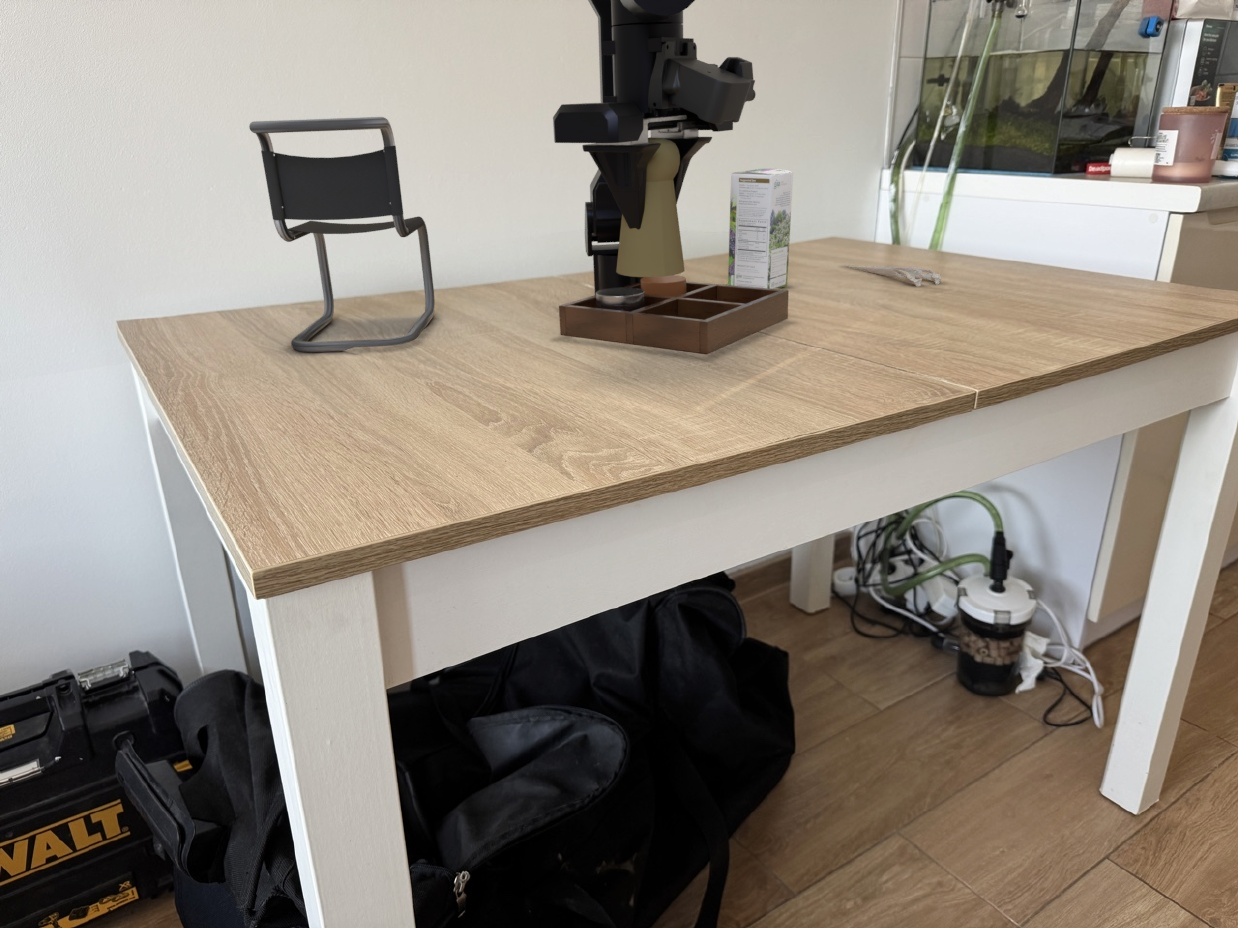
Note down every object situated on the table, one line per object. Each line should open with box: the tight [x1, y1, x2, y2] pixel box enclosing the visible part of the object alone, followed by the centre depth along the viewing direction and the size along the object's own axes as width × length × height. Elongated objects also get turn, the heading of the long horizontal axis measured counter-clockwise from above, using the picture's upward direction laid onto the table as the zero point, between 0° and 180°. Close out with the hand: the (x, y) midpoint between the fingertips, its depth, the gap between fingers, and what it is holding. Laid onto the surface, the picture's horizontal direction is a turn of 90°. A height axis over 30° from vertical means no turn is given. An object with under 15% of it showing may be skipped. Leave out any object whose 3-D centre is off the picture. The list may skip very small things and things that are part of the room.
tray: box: [558, 281, 790, 355], centre depth 95 cm, size 17×17×4 cm
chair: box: [248, 116, 436, 353], centre depth 96 cm, size 13×17×22 cm
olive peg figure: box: [616, 137, 685, 277], centre depth 78 cm, size 6×6×11 cm
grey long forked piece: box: [845, 264, 942, 287], centre depth 123 cm, size 17×5×2 cm, turn 22°
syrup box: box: [727, 167, 794, 289], centre depth 114 cm, size 6×6×14 cm
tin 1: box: [596, 287, 645, 312], centre depth 94 cm, size 5×5×4 cm
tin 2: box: [641, 274, 687, 297], centre depth 101 cm, size 5×5×4 cm
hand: (650, 226), depth 79 cm, fingers closed on olive peg figure, 4 cm apart
